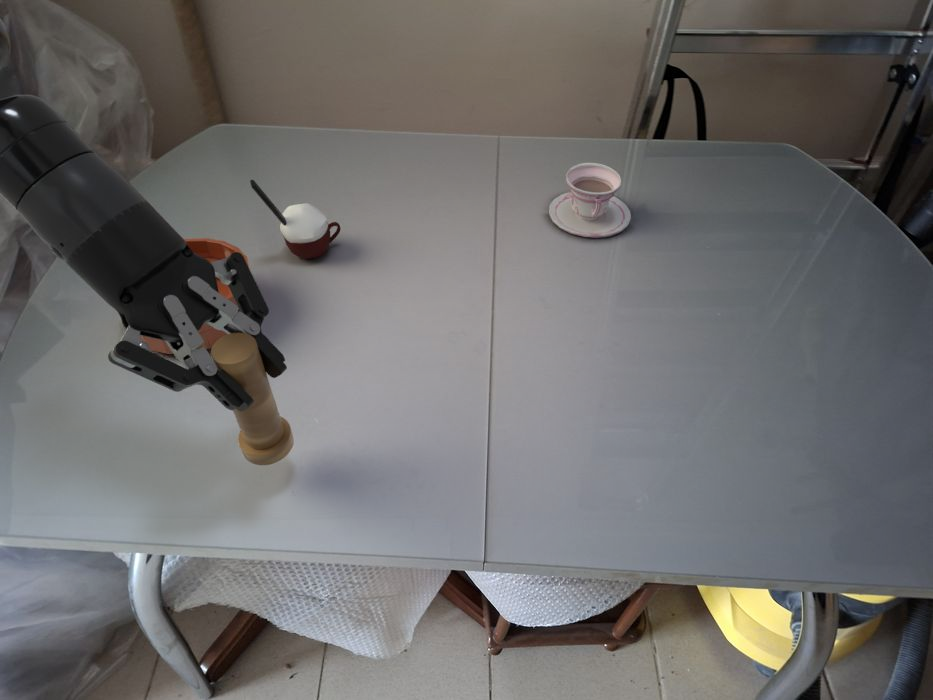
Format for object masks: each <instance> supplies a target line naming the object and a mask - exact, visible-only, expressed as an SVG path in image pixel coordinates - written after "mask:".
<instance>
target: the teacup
mask: <svg viewBox="0 0 933 700" xmlns="http://www.w3.org/2000/svg"><path fill="white" fill-rule="evenodd" d="M565 183H566V184H567V186H568V188H569V191H568V192H565V193H562V194H560V195H558V196H556V197H555V198H554V199H552V200H551V203H550V205H548V206H549V207H548V215H549V218H550V220H551V222H552V223H553V224H555V225H556V226H557V227H558V228H559V229H561V230H563V231H565V232H567V233H569V234H571V235H575V236H580V237H583V238H594V239H595V238H596V239H597V238H605V237H606V238H607V237H612V236H615V235H617V234H619V233H621V232H623V231H624V230H625V229H626V228H628V226H629V224H630V222H631V220H632V216H631V215H632V213H631V209H630V208H629V207H628V205H627V204H626V203H625V202H623V201H622V200H621V199H619V198H618V197H616V196H615V194H616V193H617V192H618V191H619V190H620V188H621V185H622V177H621V176H620V174H619V173H618V172H617V171H616V170H615V169H613V168H612V167H610V166H608V165H605V164H602V163H598V162H581V163H577V164H575V165H573V166H571V167H570V168H569V169H568V171H567V172H566V176H565Z"/></svg>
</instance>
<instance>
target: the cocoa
mask: <svg viewBox="0 0 933 700" xmlns="http://www.w3.org/2000/svg"><path fill="white" fill-rule="evenodd" d="M249 183H250V186H251V189H252V190H253V191H254V192H255V193H256V194H257V196H258V197H259V198H260V199H261V200H262V202H263V203H264V204H265V205H266V206H267V207H268V209H269V210H270V211H271V212H272V213H273V215H274V216H275V217H276V219H278V221H279V222H280V226H279V230H280V232H281V234H282V237H283V240H284V242H285V245H286V246H287V248H288V250H289V251H290V253H292V254H293V255H294V256H296V257H298V258H300V259H305V260H309V259H315V258H318V257H320V256H322V255H323V254H324V253H325V252H327V250H328V248H329V246H330V244H331V243H332V242H333V241H334V240H335V239H336V238H337V237H338V236H339V234H340V232H341V225H340V224H339V223H338V222H337V221H332V222H330V223H329V222H328V220H327V217H326V215H325V213H324V212H323V211H321V210H319V209H318V208H317V207H315V206H314V205H312V204H311V203H306V202H305V203H298V204H293V205H292V204H291V205H288V206H287V207H286V209H284V211H283V212H281V211H280V210H279V208H278V207H277V206H276V205H275V203H273V201H272V200H271V199H270V198H269V197H268V195H267V194H266V193H265V192H264V191H263V189H262V188H261V187H260V186H259V185H258V184H257V182H256V181H255V180H254V179H250V181H249ZM333 227H336V230H335V232H334V233H332V235H331V229H332V228H333Z"/></svg>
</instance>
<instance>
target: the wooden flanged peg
mask: <svg viewBox="0 0 933 700" xmlns="http://www.w3.org/2000/svg"><path fill="white" fill-rule="evenodd" d="M210 356H211V358H212V359H213V361H214V362H215V364H216V365H217V370H218V371H220V370H221V369H223V370H225V371H226V372H227V373H228V374H229V375H230V376H231V377H232V378H233V379H234V380H235V381H236V382H237V383H238V384H239V385H240V386H241V387H242V388H243V389H244V390H245V391H246V392H247V393H248V394H249V395H250V396H251V397H252V398H253V400H254V403H253V404H252V405H251V406H250V407H249V408H248V409H246V410H244V411H242V412H241V411H238V410H237V409H235V410H233V411H232V412H233V414H234V417H235V419H236V422H237V424H238V427H239V430H240V431H239V432H238V436H237V443H238V446H239V449H240V451H241V453H242V456H243V457H244V459H245V460H246V461H247V462H249V463H251V464H253V465H257V466H269V465H273V464H276V463H278V462H280V461H282V460H283V459H285V458H286V457H287V456H288V455H289V453H290V452H291V451H292V448H293V446H294V442H295V437H294V434H293V431H292V428H291V425H290V423H289V422H288V420H287V419H286V418H284V417H282V416H281V415H280V411H279V409H278V405H277V402H276V399H275V397H274V393H273V390H272V387H271V384H270V380H269V377H268V374H267V373H266V371H265V368H264V365H263V362H262V358H261V355H260V352H259V349H258V346H257V343H256V340H255V339H254V338H253V337H252V336H251V335H249V334H246V333H231V334H228V335H225V336H223V337H221V338H220V339H218V340H217V341H216V342H215V343H214V344H213V346H212V348H210Z"/></svg>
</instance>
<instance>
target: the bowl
mask: <svg viewBox="0 0 933 700" xmlns="http://www.w3.org/2000/svg"><path fill="white" fill-rule="evenodd" d="M183 239H184V238H183ZM184 240H185V241H186V243H187V245H188V246H189V248H190V249H191V251H192V252H193V253H195V254H196V255H198V256H200V257H202V258H205V259H207V260H208V261H209V262H214V261H217V260H221V259H225V258H227V257H228V256H230V255H231V254H232V253H234V252H239V253H241V254H242V255H243V257H244V259H245V261H246V263H247V265H248V267H249V269H250V271H251V272H252V270H251V266H250V264H249V263H250V262H249V259H248V257H247V256H246V254H244V253H243V252H242V250H241V249H240V248H239V247H237V246H236V245H233V244H231V243H229V242H228V241H225V240H220V239H214V238H209V237H208V238H207V237H205V238H203V237H200V238H198V237H197V238H196V237H195V238H185V239H184ZM216 280H217V286H218V291H219V293H220V294H221V295H223V296H224V297H225V298H227V299H228V300H230V301H231V302H233V303H234V304H236V305H237V303H236V301H235V299H234V297H233V295H232V293H231V291H230V289H229V286H228V285H225V284H223V283H222V282H221V280H220V279H219V278H218V277H216ZM237 306H238V305H237ZM198 332H199V334H200V335H201V337H202V339H203V340H204V343H205V348H206V350H209V349H211V348H212V346H213V344H214V343H215V342H216V341H217V340H218V339H220V338H221V337H223V336H225V335H228V334H227V333H225V332H224V331H222V330H217V329H215V328H213V327H212V326H210V325H209V324H205V325H203V326H202V327H201V328H200V330H199V331H198ZM140 337H141V339H142V340H143V341H144V342H146V343H147V344H148V346H149V351H153V352H158V353H161V354H162V353H163V354H166V355H168V354H169V355H172V354H173V352H172V351H171V349H170V348H169V346H168V345H167V343H166V342H165V341H164V340H160V339H155V338H150V337H146V336H141V335H140ZM177 345H178V344H177ZM173 355H174V354H173Z"/></svg>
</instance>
